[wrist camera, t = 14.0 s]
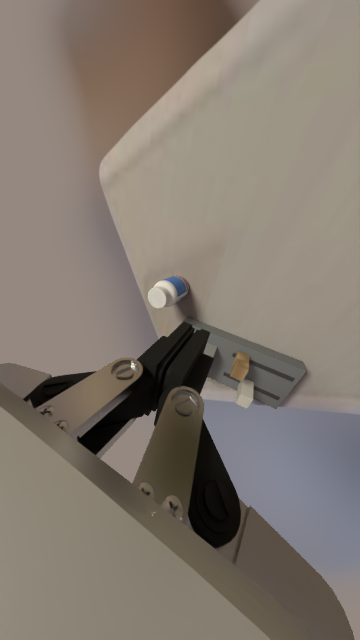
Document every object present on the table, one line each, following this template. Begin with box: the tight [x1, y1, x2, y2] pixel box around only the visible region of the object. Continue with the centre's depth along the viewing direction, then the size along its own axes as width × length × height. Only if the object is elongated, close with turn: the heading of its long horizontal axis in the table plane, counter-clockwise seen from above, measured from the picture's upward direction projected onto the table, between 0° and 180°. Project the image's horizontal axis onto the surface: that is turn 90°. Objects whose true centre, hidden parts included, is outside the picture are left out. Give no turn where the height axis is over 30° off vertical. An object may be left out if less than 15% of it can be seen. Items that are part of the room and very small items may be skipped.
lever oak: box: [230, 351, 250, 381], centre depth 33 cm, size 2×3×5 cm
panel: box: [183, 317, 306, 409], centre depth 37 cm, size 26×12×7 cm, turn 77°
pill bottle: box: [148, 276, 189, 308], centre depth 35 cm, size 6×5×10 cm
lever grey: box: [236, 378, 254, 409], centre depth 35 cm, size 2×3×5 cm
